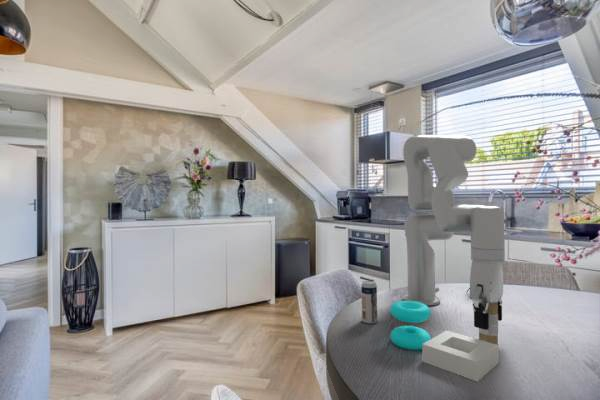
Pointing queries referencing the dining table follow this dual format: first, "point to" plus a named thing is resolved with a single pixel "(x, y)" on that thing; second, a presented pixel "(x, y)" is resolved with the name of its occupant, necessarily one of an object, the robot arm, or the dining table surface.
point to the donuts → (409, 334)
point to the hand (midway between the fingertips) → (488, 323)
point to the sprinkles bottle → (491, 324)
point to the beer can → (369, 302)
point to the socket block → (461, 354)
